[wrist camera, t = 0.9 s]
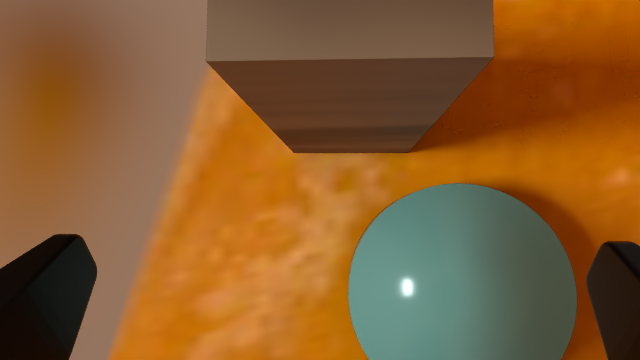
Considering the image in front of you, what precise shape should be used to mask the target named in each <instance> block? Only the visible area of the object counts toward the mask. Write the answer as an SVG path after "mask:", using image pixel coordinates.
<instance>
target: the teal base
mask: <svg viewBox="0 0 640 360" xmlns="http://www.w3.org/2000/svg"><path fill="white" fill-rule="evenodd" d="M348 296H349V309H350V314H351V319H352V324H353V327H354V330H355V332H356V335H357V338H358V340H359V342H360V344H361V346H362V348H363V350H364V352H365V354H366V355H367V357H368V358H369V360H561V358H562V356H563V355H564V353H565V351H566V349H567V346H568V344H569V342H570V339H571V336H572V333H573V329H574V326H575V319H576V313H577V291H576V283H575V278H574V274H573V270H572V266H571V263H570V261H569V258H568V256H567V253H566V251H565V249H564V247H563V246H562V244H561V242H560V240H559V238H558V237H557V236H556V234H555V233H554V232H553V230H552V229H551V228H550V226H549V225H548V224H547V223H546V222H545V221H544V220H543V219H542V218H541V217H540V216H539V215H538V214H537V213H536V212H535V211H533V210H532V209H531V208H530V207H528V206H527V205H526V204H524V203H522V202H521V201H519V200H518V199H516V198H514V197H512V196H510V195H508V194H506V193H503V192H501V191H498V190H495V189H492V188H489V187H485V186H480V185H474V184H460V183H455V184H442V185H438V186H433V187H428V188H425V189H422V190H420V191H417V192H414V193H411V194H408V195H406V196H404V197H402V198H400V199H398V200H396V201H395V202H393V203H392V204H390V205H389V206H387V207H386V208H385V209H384V210H382V211H381V212H380V213H379V214H378V215H377V216H376V217H375V218H374V219H373V220H372V222H371V223H370V224H369V225H368V226H367V228H366V230H365V231H364V233H363V234H362V236H361V238H360V240H359V242H358V244H357V246H356V248H355V251H354V255H353V258H352V262H351V267H350V273H349V292H348Z"/></svg>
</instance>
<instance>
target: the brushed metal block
mask: <svg viewBox="0 0 640 360" xmlns="http://www.w3.org/2000/svg"><path fill="white" fill-rule="evenodd" d="M493 58H494V24H493V0H208V8H207V41H206V62H207V63H208V64H209V65H210V66H211V67H212V68H213V69H214V70H215V71H216V72H217V73H218V74H219V75H220V76H221V78H222V79H223V80H224V81H225V82H226V83H227V84H228V85H229V86H230V87H231V88H232V89H233V90H234V91H235V92H236V93H237V94H238V95H239V96H240V97H241V98H242V99H243V100H244V101H245V103H246V104H247V105H248V106H249V107H250V108H251V109H252V110H253V111H254V112H255V113H256V114H257V115H258V116H259V117H260V118H261V119H262V120H263V121H264V122H265V123H266V124H267V125H268V126H269V128H270V129H271V130H272V131H273V132H274V133H275V134H276V135H277V136H278V137H279V138H280V139H281V140H282V141H283V142H284V143H285V144H286V145H287V146H288V147H289V148H290V149H291V150H292V152H293V153H408V152H409V151H410V150H411V149H412V148H413V147H414V145H415V144H416V143H417V142H418V141H419V140H420V139H421V138H422V137H423V135H424V134H425V133H426V132H427V131H428V130H429V129H430V128H431V127H432V125H433V124H434V123H435V122H436V121H437V120H438V119H439V118H440V117H441V115H442V114H443V113H444V112H445V111H446V110H447V109H448V108H449V107H450V105H451V104H452V103H453V102H454V101H455V100H456V99H457V98H458V97H459V95H460V94H461V93H462V92H463V91H464V90H465V89H466V88H467V87H468V85H469V84H470V83H471V82H472V81H473V80H474V79H475V78H476V77H477V75H478V74H479V73H480V72H481V71H482V70H483V69H484V68H485V67H486V65H487V64H488V63H489V62H490V61H491V60H492V59H493Z"/></svg>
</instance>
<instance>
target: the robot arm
mask: <svg viewBox="0 0 640 360" xmlns="http://www.w3.org/2000/svg"><path fill="white" fill-rule="evenodd" d="M96 277H97V267H96V263H95V261H94V259H93V257H92V255H91V253H90V251H89V249H88V247H87V245H86V243H85V241H84V239H83V238H82V237H81V236H80V235H77V234H56V235H53V236H52V237H50V238H48V239H47V240H45V241H44V242H42V243H41V244H39V245H37V246H36V247H34V248H32V249H31V250H29V251H28V252H26V253H25V254H23V255H22V256H20V257H18V258H17V259H15V260H13V261H12V262H10V263H9V264H7V265H6V266H4V267H2V268H1V269H0V360H69V357H70V355H71V352H72V350H73V347H74V344H75V341H76V338H77V335H78V332H79V329H80V326H81V323H82V320H83V317H84V314H85V311H86V308H87V305H88V302H89V299H90V296H91V293H92V290H93V286H94V284H95V281H96ZM587 288H588V292H589V295H590V299H591V302H592V306H593V309H594V313H595V316H596V319H597V323H598V326H599V330H600V333H601V337H602V340H603V343H604V347H605V350H606V354H607V357H608V360H640V246H639V245H637V244H635V243H633V242H629V241H607V242H605V243H603V244H602V245H601V247H600V248H599V250H598V253H597V255H596V257H595V259H594V261H593V263H592V265H591V268H590V270H589V272H588V275H587Z"/></svg>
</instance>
